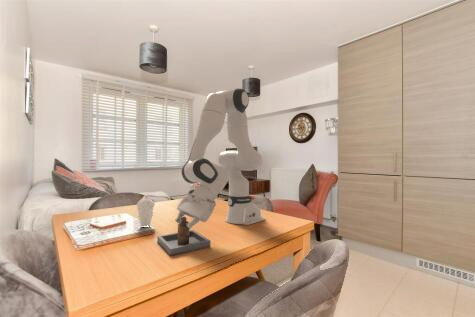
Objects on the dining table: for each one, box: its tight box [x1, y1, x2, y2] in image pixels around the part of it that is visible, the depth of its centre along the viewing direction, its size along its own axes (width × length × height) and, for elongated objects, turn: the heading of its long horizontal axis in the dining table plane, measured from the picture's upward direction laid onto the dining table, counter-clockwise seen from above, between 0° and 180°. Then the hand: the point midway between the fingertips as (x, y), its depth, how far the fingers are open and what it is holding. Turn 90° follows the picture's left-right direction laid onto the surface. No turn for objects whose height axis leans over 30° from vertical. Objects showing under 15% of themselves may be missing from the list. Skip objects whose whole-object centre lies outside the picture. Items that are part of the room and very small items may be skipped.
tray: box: [156, 229, 211, 257], centre depth 96 cm, size 16×16×2 cm
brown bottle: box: [177, 216, 190, 245], centre depth 96 cm, size 5×5×11 cm
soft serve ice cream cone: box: [136, 194, 156, 227], centre depth 119 cm, size 8×8×16 cm
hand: (182, 224), depth 96 cm, fingers open, 8 cm apart
